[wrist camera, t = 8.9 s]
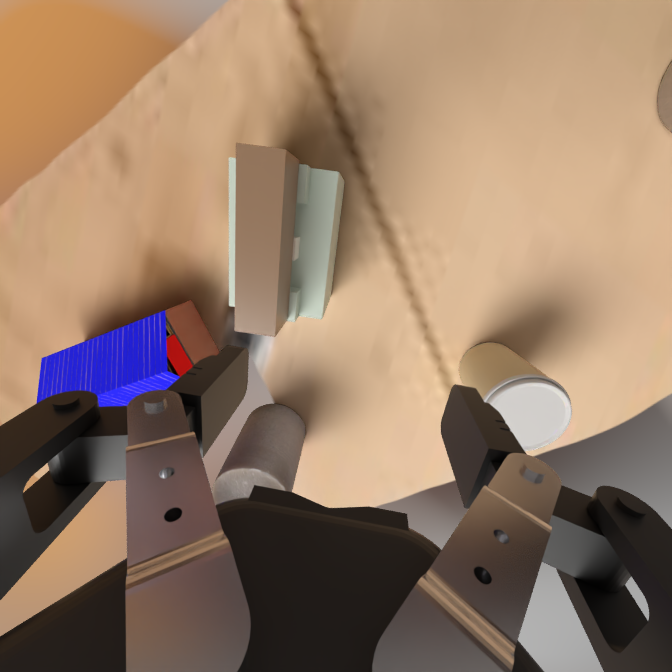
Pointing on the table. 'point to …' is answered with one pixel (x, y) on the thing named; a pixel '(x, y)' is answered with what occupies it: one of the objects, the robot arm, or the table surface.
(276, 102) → the table surface
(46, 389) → the house
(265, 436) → the pillar candle
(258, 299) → the long beige cuboid
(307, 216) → the stand
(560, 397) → the coffee cup
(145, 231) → the table surface
